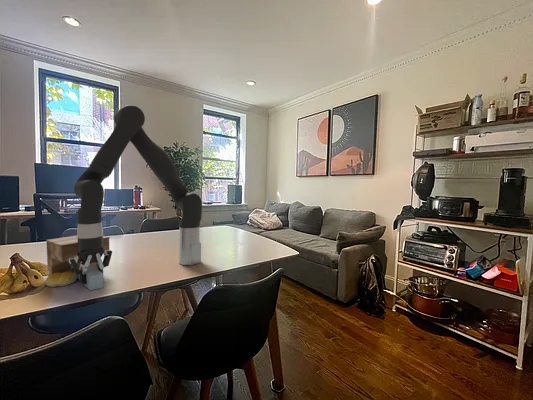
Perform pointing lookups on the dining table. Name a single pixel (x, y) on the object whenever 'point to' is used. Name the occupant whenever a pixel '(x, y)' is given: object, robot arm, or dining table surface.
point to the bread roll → (61, 279)
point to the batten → (92, 277)
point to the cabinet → (65, 253)
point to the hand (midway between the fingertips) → (92, 281)
